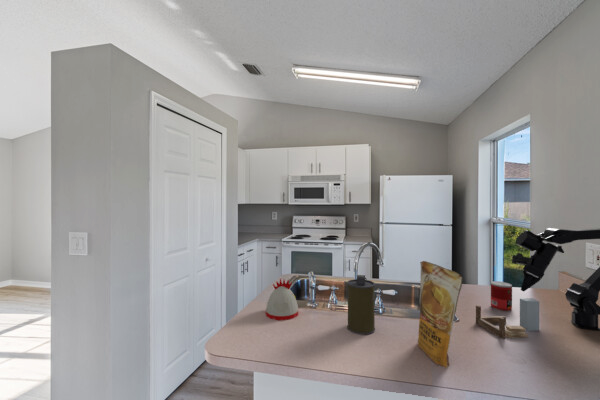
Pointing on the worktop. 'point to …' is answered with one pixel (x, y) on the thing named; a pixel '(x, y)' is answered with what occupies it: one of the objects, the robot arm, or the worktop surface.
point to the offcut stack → (515, 332)
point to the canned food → (501, 295)
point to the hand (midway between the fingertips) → (522, 290)
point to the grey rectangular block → (529, 314)
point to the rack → (488, 321)
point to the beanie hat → (282, 302)
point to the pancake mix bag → (437, 310)
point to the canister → (361, 306)
